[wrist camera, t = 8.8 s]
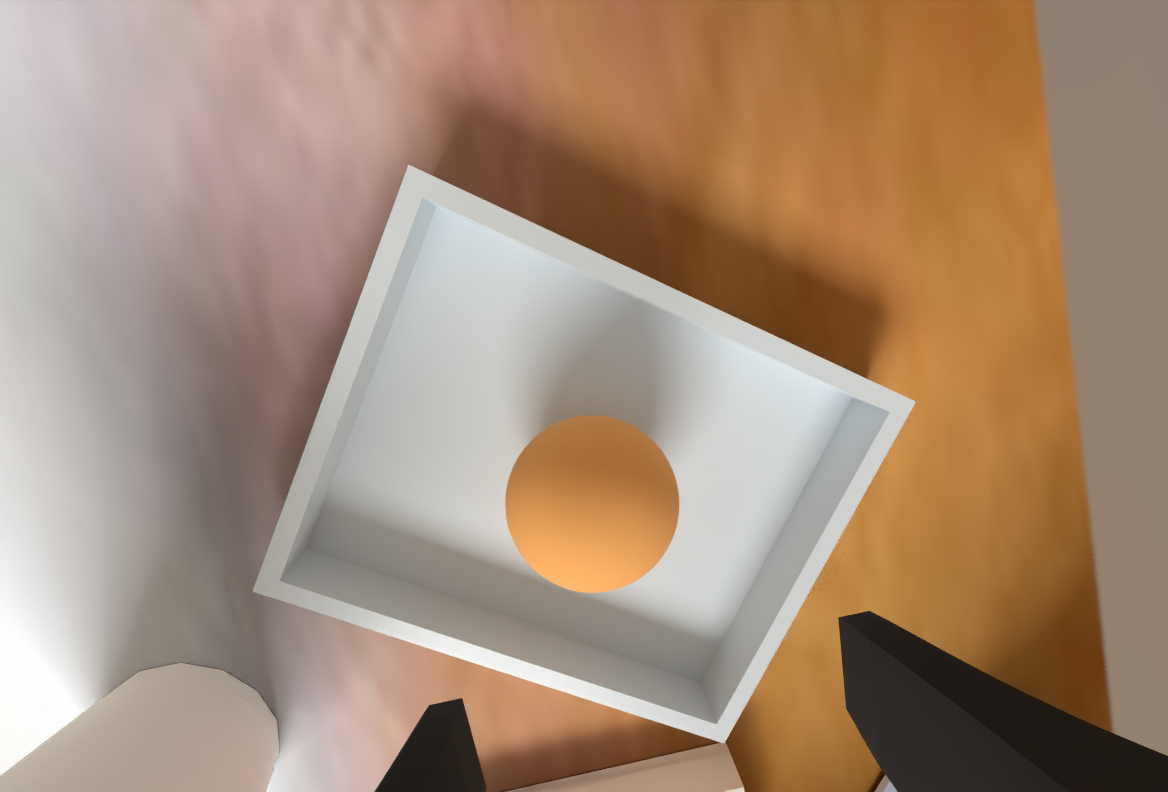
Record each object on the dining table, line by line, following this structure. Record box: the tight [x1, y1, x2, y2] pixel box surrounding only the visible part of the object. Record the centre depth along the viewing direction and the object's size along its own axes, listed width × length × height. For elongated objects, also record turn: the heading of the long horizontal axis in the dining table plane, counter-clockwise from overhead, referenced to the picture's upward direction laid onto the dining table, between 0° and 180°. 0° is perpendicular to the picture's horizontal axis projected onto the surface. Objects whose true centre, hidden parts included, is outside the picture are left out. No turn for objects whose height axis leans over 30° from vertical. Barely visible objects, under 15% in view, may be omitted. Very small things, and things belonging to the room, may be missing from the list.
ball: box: [505, 415, 679, 593], centre depth 16 cm, size 5×5×5 cm
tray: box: [252, 165, 915, 743], centre depth 18 cm, size 16×13×3 cm
